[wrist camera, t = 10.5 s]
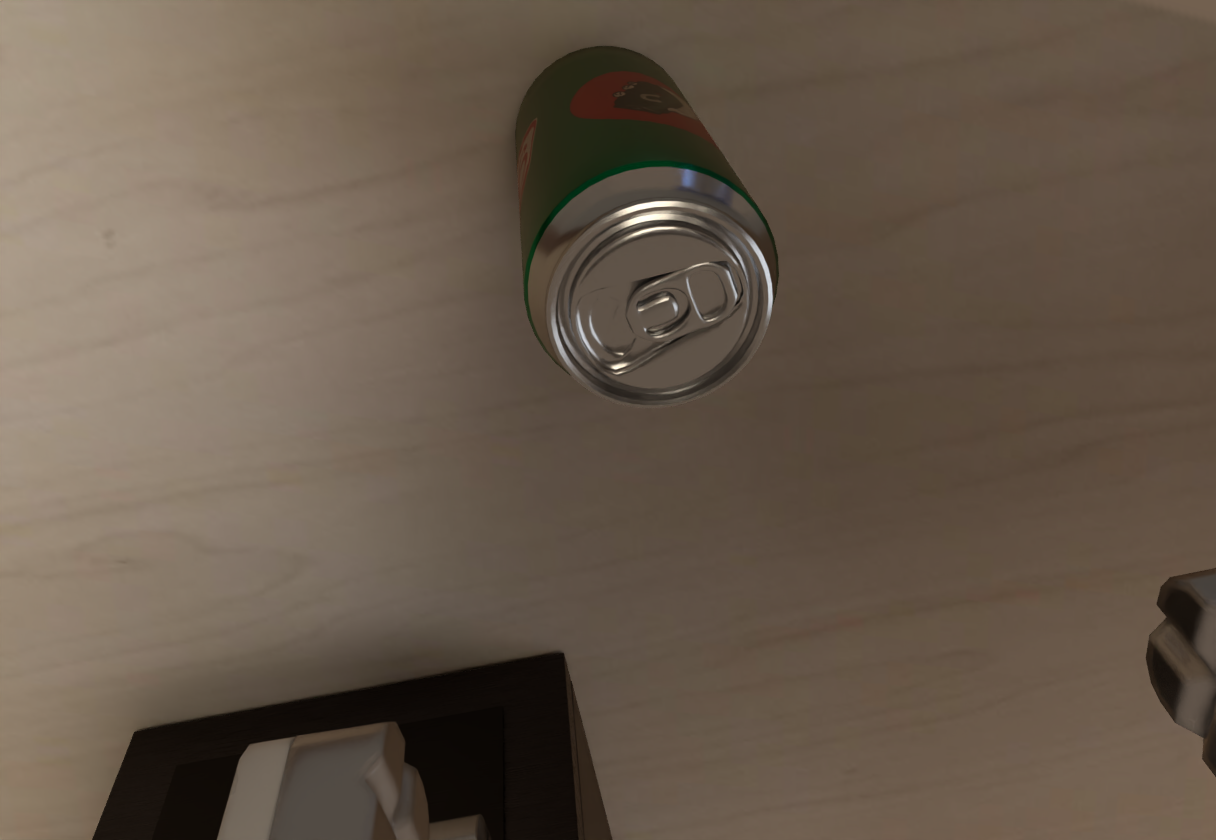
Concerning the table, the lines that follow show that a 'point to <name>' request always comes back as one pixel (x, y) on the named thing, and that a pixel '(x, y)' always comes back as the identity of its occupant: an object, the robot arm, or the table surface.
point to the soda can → (636, 234)
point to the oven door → (435, 745)
